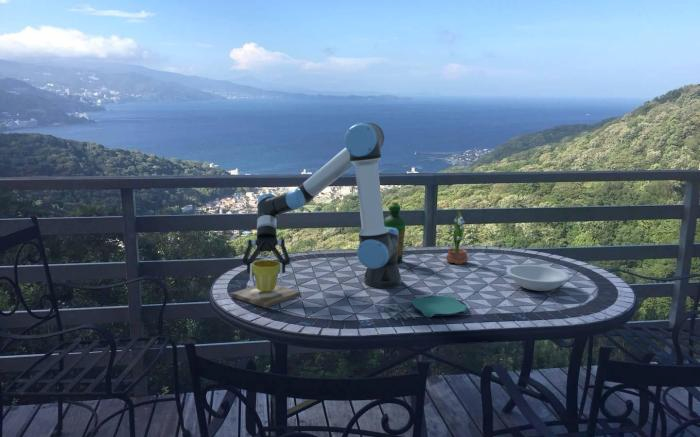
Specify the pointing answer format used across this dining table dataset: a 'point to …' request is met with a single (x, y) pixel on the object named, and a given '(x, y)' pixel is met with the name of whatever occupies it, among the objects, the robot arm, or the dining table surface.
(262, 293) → the trivet board
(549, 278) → the soup bowl
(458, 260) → the potted flower
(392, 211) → the bottle
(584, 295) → the dining table surface
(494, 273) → the dining table surface
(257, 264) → the plant pot
